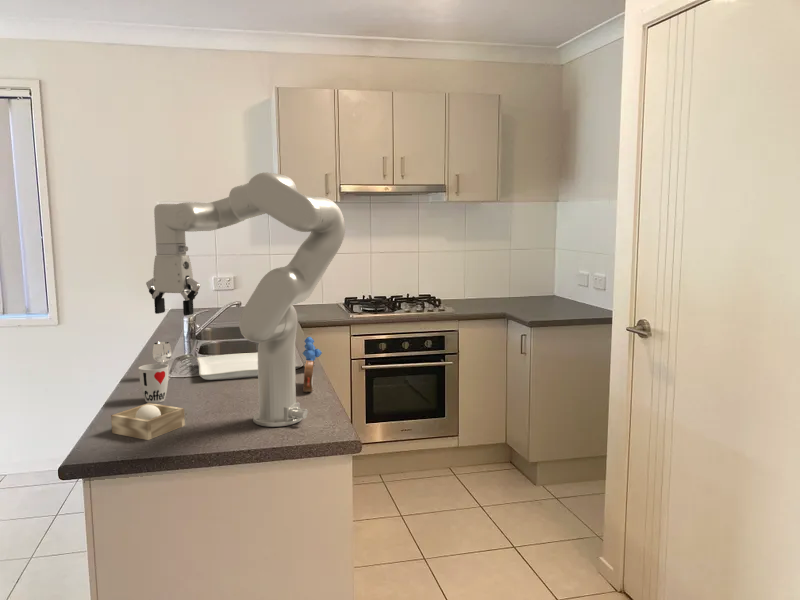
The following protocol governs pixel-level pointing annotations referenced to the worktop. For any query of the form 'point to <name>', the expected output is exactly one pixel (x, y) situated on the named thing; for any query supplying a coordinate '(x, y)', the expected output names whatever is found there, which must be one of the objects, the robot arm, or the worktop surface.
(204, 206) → the robot arm
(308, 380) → the tin
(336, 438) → the worktop surface
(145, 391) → the cup
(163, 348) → the wineglass
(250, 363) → the square plate
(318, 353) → the grapes
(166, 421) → the wooden square tray
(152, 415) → the ball
